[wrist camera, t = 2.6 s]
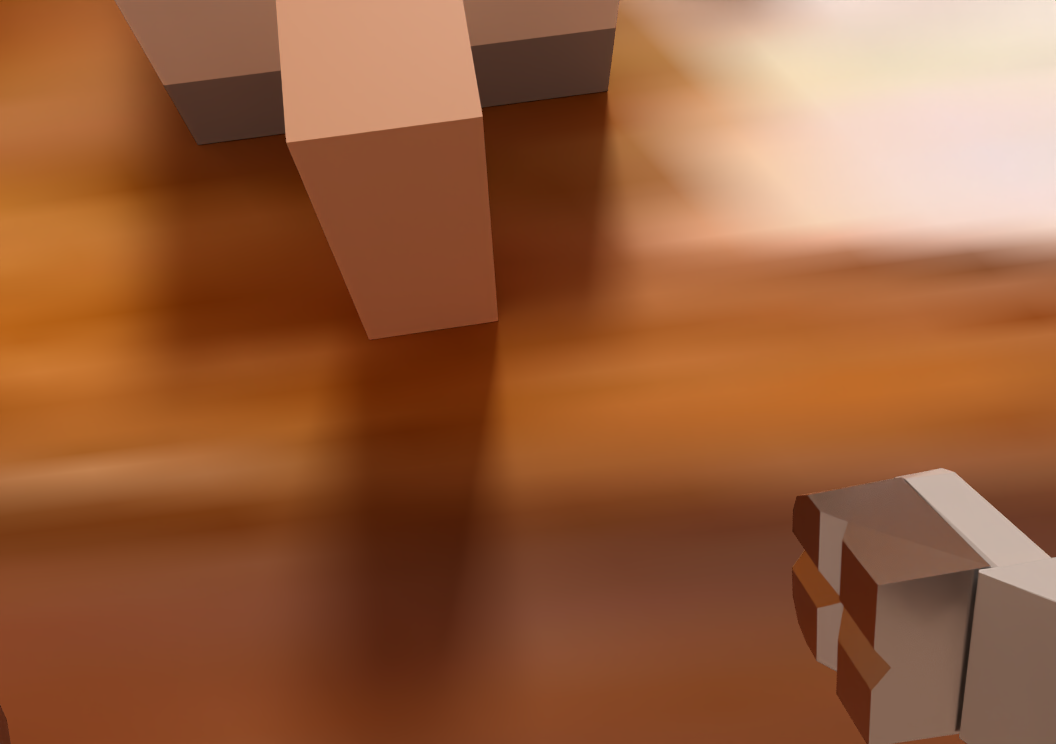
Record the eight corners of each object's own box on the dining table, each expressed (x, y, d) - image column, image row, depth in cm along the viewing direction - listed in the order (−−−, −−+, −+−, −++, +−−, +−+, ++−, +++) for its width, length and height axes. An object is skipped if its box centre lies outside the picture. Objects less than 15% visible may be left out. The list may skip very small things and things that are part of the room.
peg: (480, 210, 29) (457, -32, 20) (498, 320, 27) (482, 116, 18) (357, 227, 29) (274, -10, 19) (369, 339, 27) (286, 142, 18)
